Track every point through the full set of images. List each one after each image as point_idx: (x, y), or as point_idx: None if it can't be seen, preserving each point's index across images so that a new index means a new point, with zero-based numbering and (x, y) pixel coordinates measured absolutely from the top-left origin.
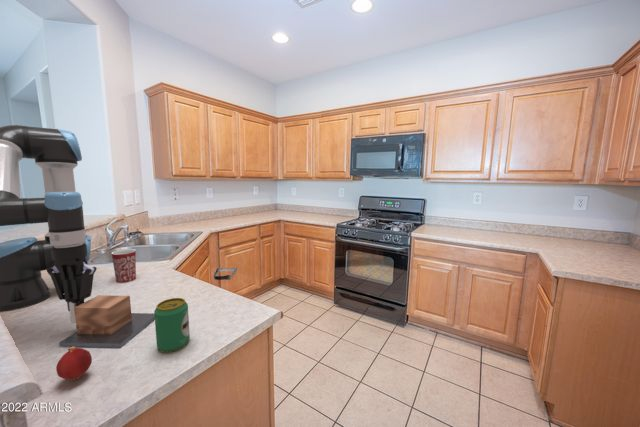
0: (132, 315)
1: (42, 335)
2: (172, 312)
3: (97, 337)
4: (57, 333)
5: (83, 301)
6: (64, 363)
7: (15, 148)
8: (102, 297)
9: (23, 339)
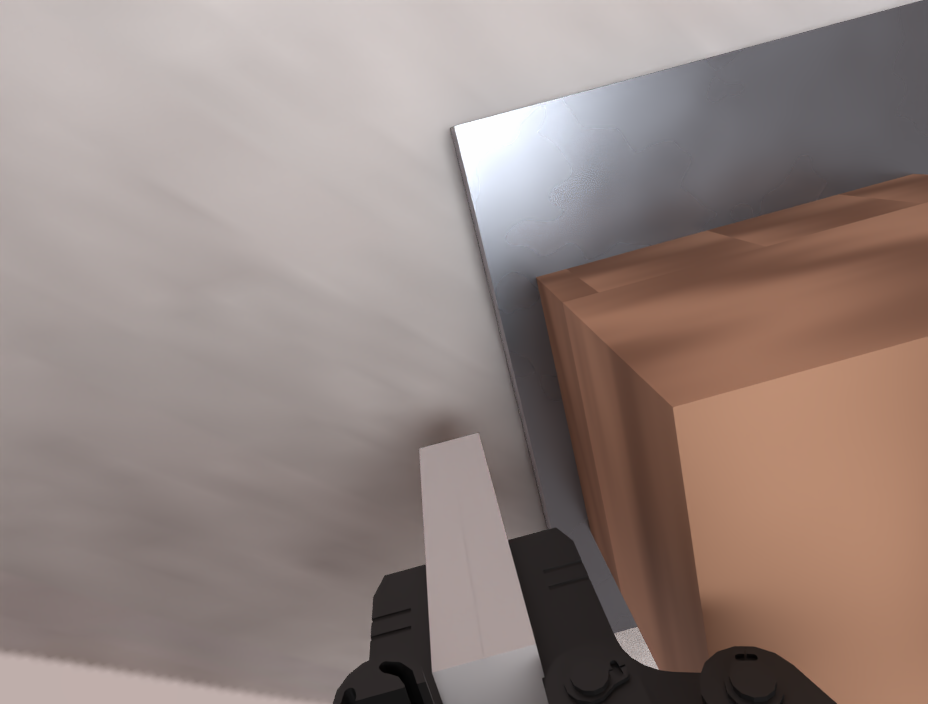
0: (850, 89)
1: (225, 583)
2: None
3: None
4: (317, 526)
5: (617, 642)
6: None
7: None
8: (868, 453)
9: (149, 659)
